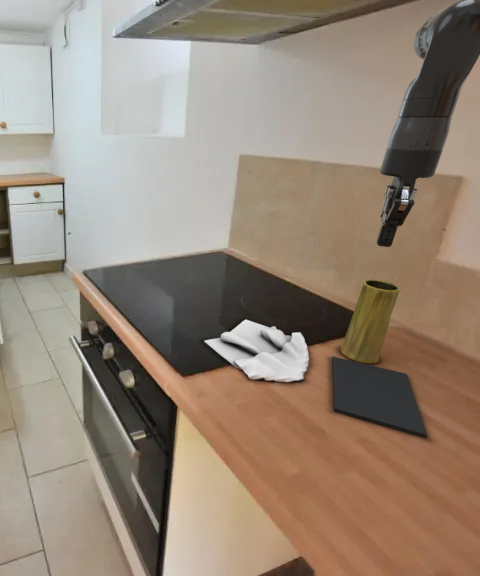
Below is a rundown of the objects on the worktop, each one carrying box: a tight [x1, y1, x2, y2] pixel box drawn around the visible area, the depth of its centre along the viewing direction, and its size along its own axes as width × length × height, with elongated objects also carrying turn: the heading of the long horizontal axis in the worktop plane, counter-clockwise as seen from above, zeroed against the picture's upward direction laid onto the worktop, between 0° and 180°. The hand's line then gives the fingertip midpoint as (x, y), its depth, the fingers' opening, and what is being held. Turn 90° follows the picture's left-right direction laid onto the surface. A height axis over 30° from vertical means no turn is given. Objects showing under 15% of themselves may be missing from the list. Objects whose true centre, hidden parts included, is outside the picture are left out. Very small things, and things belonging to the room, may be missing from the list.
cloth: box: [203, 319, 310, 384], centre depth 73 cm, size 20×22×2 cm
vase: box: [340, 278, 401, 365], centre depth 68 cm, size 6×6×14 cm
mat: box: [331, 356, 428, 438], centre depth 61 cm, size 11×16×1 cm
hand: (383, 245), depth 71 cm, fingers closed
